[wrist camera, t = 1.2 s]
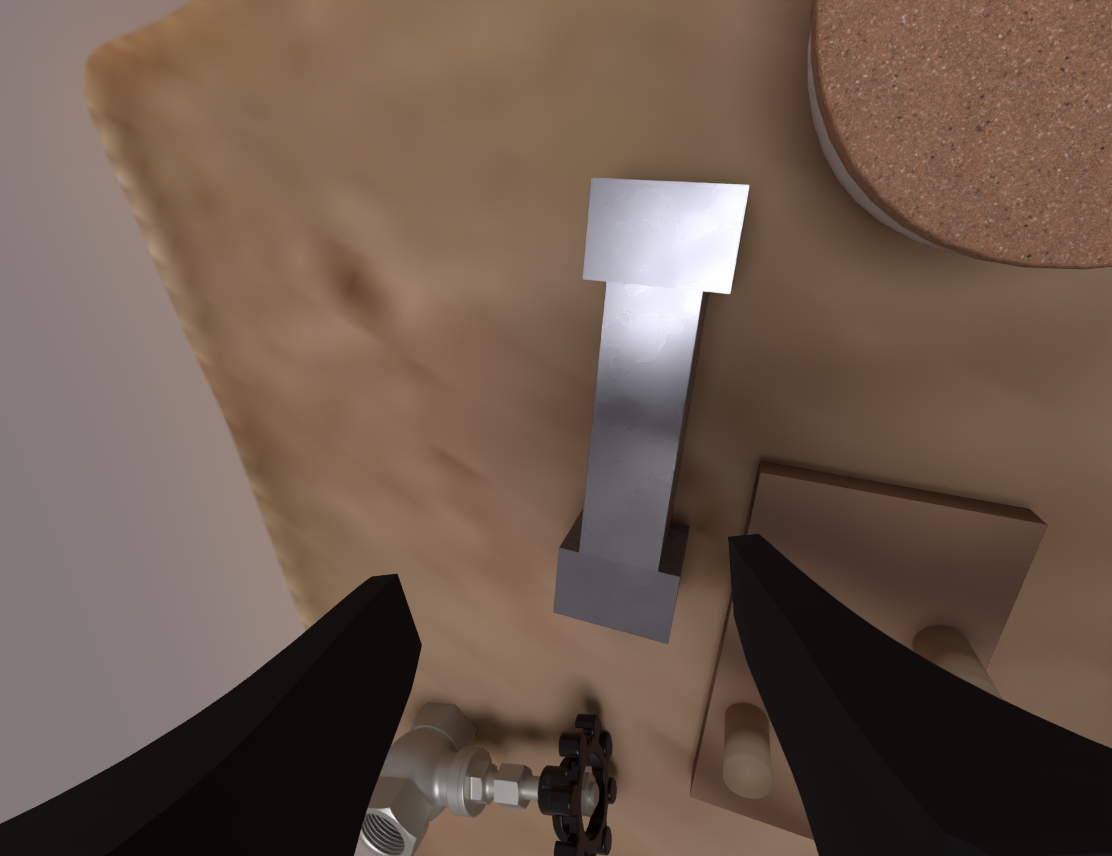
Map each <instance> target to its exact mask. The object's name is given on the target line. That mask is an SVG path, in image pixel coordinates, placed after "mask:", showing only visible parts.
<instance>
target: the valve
mask: <svg viewBox="0 0 1112 856" xmlns="http://www.w3.org/2000/svg"><path fill="white" fill-rule="evenodd" d="M575 727H576V728H583V732H584V734H583V733H576V732H563V733H562V734H561V737H560V740H559V754H560V756H563V757H565V758H564V759H563V760H562V762H561V764H560V766H550V765H547V766H546V767H545V768H544V769H543V771H542V773H541V776H533V774H532V770H531V769H530V768H529V767H527V766H525V765H518V764H508V763H502V764H501V766H500V768H499V770H498V769H497V766H496V765H495V764H493V763H492V760H491V757H490V754H489V752H488V751H487V750H486V749H484V748H479V747H472V745H473V741H474V738H475V735H476V732H477V729H476V728H475V726H474V725H473V724H472V723H471V722H470V721H469V719H468V718H467V717H466V716H465V715H464V714H463V713H462V712H461V711H460V709H459V708H458V707H457V706H455V705H453V704H437V703H427V704H426V705H425V707H424V708H423V710H422V711H421V712H420V714H419V715H418V717H417V718H416V720H415V721H414V722H413V724H412V728H411V731H410V732H408V733H406V734H405V735H403V736H402V737H400V738H399V739H398V740H397V741H396V742H395V743H394V744H393V745H392V746H391V747H390V749H389V752H388V754H387V757H386V760H385V762H384V765H383V768H382V770H381V773H380V776H379V778H378V781H377V784H376V786H375V789H374V791H373V794H372V797H371V800H370V803H369V806H368V809H367V812H366V815H365V818H364V821H363V824H362V828H361V832H360V835H359V840H360V841H361V843H362V844H363V845H364V846H365V847H366V848H367V849H368V850H369V851H371V852H372V853H373V854H375V855H376V856H414V854H415V852H416V850H417V849H418V847H419V845H420V843H421V841H422V839H423V838H424V836H425V834H426V832H427V829H428V825H429V822H430V821H432V820H433V819H435V818H436V817H437V816H438V815H439V814H440V813H441V812H442V811H443V810H444V809H445V808H446V807H447V806H448V807H449V809H450V811H451V812H452V813H453V814H454V815H458V816H465V817H472V818H473V817H477V816H478V815H479V814H480V813H481V812H482V811H483V809H484V808H485V806H486V804H488V805H490V803H491V802H492V800H493V798H494V802H495V803H497V804H499V805H501V806H504V807H511V808H519V809H526V808H527V806H528V804H529V802H530V800H534V801H538V805H539V809H540V811H541V813H542V814H544V815H551V816H552V820H553V827H554V830H555V833H556V835H557V836H558V838H559V840H560V841H556V843H555V847H554V856H596V854H600V855H608V854H609V853H610V850H611V843H612V835H611V830H610V827H609V826H607V821H606V819H607V809H608V804H613V803H614V802H615V800H616V794H617V786H616V781H615V779H614V778H613V777H608V772H607V760H608V759H609V758H610V757H611V753H612V740H611V736H610V735H609V734H606V733H600V730H601V725H600V719H599V717H598V715H593V714H578V715H577V717H576V721H575ZM586 766H592V772H593V775H592V774H591V773H589V772H584V771H585V767H586ZM582 816H589V817H590V821H589V825H588V828H587V830H586V832H585V831H584V828H583V822H582Z"/></svg>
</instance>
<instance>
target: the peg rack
mask: <svg viewBox="0 0 1112 856" xmlns="http://www.w3.org/2000/svg"><path fill="white" fill-rule="evenodd" d="M1046 528H1047V524H1046V523H1045V522H1044V521H1043V520H1041V519H1040V518H1039V517H1038V516H1037V515H1036V514H1035V513H1034V512H1032V511H1031V510H1030V509H1025V508H1020V507H1014V506H1008V505H1003V504H997V503H991V502H986V501H980V500H975V499H969V498H963V497H958V496H952V495H947V494H941V493H935V492H930V491H924V490H918V489H913V488H907V487H902V486H896V485H890V484H885V483H879V482H874V481H868V480H862V479H857V478H851V477H845V476H840V475H834V474H829V473H823V472H817V471H812V470H806V469H801V468H795V467H789V466H784V465H778V464H772V463H767V462H761V461H760V463H759V467H758V472H757V477H756V481H755V486H754V490H753V495H752V500H751V504H750V509H749V514H748V518H747V523H746V527H745V532H744V535H751V534H760V535H761V536H762V537H764V538H765V539H766V540H767V541H768V542H769V543H771V544H772V545H773V546H774V547H775V548H776V549H777V550H778V551H779V552H781V553H782V554H783V555H784V556H785V557H786V558H787V559H788V560H790V561H791V562H792V563H793V564H794V565H795V566H797V567H798V568H799V569H800V570H801V571H802V572H804V573H805V574H806V575H807V576H808V577H810V578H811V579H812V580H813V581H814V582H816V583H817V584H818V585H819V586H821V587H822V588H823V589H824V590H826V591H827V592H828V593H830V594H831V595H832V596H833V597H835V598H836V599H837V600H838V601H840V602H841V603H842V604H844V605H845V606H846V607H848V608H849V609H850V610H852V611H853V612H854V613H856V614H857V615H859V616H860V617H862V618H863V619H864V620H866V621H867V622H869V623H870V624H871V625H873V626H874V627H876V628H877V629H879V630H880V631H882V632H883V633H885V634H886V635H888V636H889V637H891V638H893V639H894V640H896V641H898V642H899V643H901V644H902V645H904V646H906V647H907V648H909V649H911V650H912V651H914V652H916V653H917V654H919V655H921V656H922V657H924V658H925V659H927V660H929V661H931V662H932V663H934V664H936V665H938V666H939V667H941V668H943V669H945V670H947V671H948V672H950V673H952V674H954V675H956V676H958V677H960V678H961V679H963V680H965V681H967V682H969V683H971V684H973V685H975V686H977V687H979V688H981V689H983V690H984V691H986V692H988V693H990V694H992V695H994V696H996V697H998V698H1000V699H1002V698H1001V696H1000V694H999V693H998V691H997V689H996V687H995V686H994V684H993V682H992V681H991V679H990V677H989V675H988V674H987V672H986V668H987V666H988V664H989V661H990V659H991V656H992V654H993V652H994V649H995V647H996V645H997V642H998V640H999V638H1000V635H1001V633H1002V631H1003V628H1004V626H1005V624H1006V621H1007V619H1008V617H1009V614H1010V612H1011V610H1012V607H1013V605H1014V603H1015V600H1016V598H1017V596H1018V593H1019V591H1020V589H1021V586H1022V584H1023V582H1024V579H1025V577H1026V575H1027V572H1028V570H1029V567H1030V565H1031V563H1032V560H1033V558H1034V556H1035V553H1036V551H1037V549H1038V546H1039V544H1040V542H1041V539H1042V537H1043V535H1044V532H1045V530H1046ZM1002 700H1003V699H1002ZM690 797H692V798H695V799H698V800H701V801H704V802H707V803H710V804H712V805H715V806H718V807H721V808H724V809H727V810H730V811H732V812H735V813H738V814H741V815H744V816H747V817H750V818H752V819H755V820H758V821H761V822H764V823H767V824H770V825H772V826H775V827H778V828H781V829H784V830H787V831H790V832H792V833H795V834H798V835H801V836H804V837H807V838H810V839H812V840H814V838H813V835H812V831H811V828H810V825H809V822H808V819H807V815H806V812H805V809H804V806H803V803H802V799H801V796H800V794H799V791H798V788H797V785H796V783H795V780H794V777H793V775H792V772H791V769H790V767H789V764H788V762H787V760H786V757H785V755H784V752H783V750H782V747H781V745H780V743H779V740H778V738H777V735H776V733H775V730H774V728H773V726H772V723H771V721H770V718H769V716H768V713H767V711H766V709H765V706H764V704H763V701H762V699H761V696H760V694H759V691H758V689H757V686H756V684H755V682H754V679H753V677H752V674H751V672H750V669H749V667H748V664H747V661H746V658H745V655H744V651H743V648H742V644H741V641H740V637H739V633H738V630H737V626H736V623H735V619H734V613H733V599H732V592H731V597H730V601H729V606H728V610H727V615H726V620H725V624H724V629H723V633H722V638H721V643H720V647H719V652H718V657H717V661H716V666H715V670H714V675H713V680H712V684H711V689H710V693H709V698H708V703H707V707H706V712H705V716H704V721H703V726H702V730H701V735H700V740H699V744H698V749H697V753H696V758H695V763H694V767H693V772H692V779H691V789H690Z"/></svg>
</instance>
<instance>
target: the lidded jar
mask: <svg viewBox="0 0 1112 856" xmlns="http://www.w3.org/2000/svg"><path fill="white" fill-rule="evenodd" d="M808 91H809V98H810V105H811V111H812V118H813V124H814V128H815V131H816V134H817V137H818V140H819V143H820V146H821V149H822V151H823V154H824V156H825V158H826V160H827V162H828V163H829V165H830V167H831V169H832V171H833V173H834V174H835V176H836V178H837V180H838V181H839V182H840V184H841V185H842V186H843V187H844V188H845V190H846V191H847V192H848V193H849V194H850V196H851V197H852V198H853V199H854V200H855V202H856V203H857V204H858V205H860V206H861V207H862V208H863V209H864V210H866V211H867V212H868V213H869V214H871V215H872V216H873V217H874V218H875V219H877V220H878V221H879V222H881V223H882V224H884V225H886V226H888V227H890V228H891V229H893V230H895V231H897V232H899V233H900V234H902V235H904V236H906V237H908V238H910V239H912V240H914V241H916V242H919V243H922V244H925V245H928V246H931V247H934V248H936V249H939V250H942V251H945V252H950V253H955V254H961V255H966V256H969V257H972V258H975V259H980V260H985V261H991V262H997V263H1002V264H1008V265H1013V266H1019V267H1031V268H1060V269H1092V268H1103V267H1112V0H813V5H812V11H811V30H810V36H809V43H808Z"/></svg>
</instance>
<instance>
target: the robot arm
mask: <svg viewBox="0 0 1112 856" xmlns="http://www.w3.org/2000/svg"><path fill="white" fill-rule="evenodd" d="M728 541H729V556H730V570H731V585H732V599H733V613H734V619H735V623H736V626H737V630H738V633H739V637H740V641H741V644H742V648H743V651H744V655H745V658H746V661H747V664H748V667H749V669H750V672H751V674H752V677H753V679H754V682H755V684H756V686H757V689H758V691H759V694H760V696H761V699H762V701H763V704H764V706H765V709H766V711H767V713H768V716H769V718H770V721H771V723H772V726H773V728H774V730H775V733H776V735H777V738H778V740H779V743H780V745H781V747H782V750H783V752H784V755H785V757H786V760H787V762H788V764H789V767H790V769H791V772H792V775H793V777H794V780H795V783H796V785H797V788H798V791H799V794H800V796H801V799H802V803H803V806H804V809H805V812H806V815H807V819H808V822H809V825H810V828H811V831H812V835H813V838H814V841H815V844H816V847H817V851H818V854H819V856H1112V748H1109V747H1107V746H1104V745H1102V744H1099V743H1097V742H1094V741H1092V740H1090V739H1087V738H1085V737H1083V736H1080V735H1078V734H1076V733H1074V732H1071V731H1069V730H1067V729H1065V728H1062V727H1060V726H1058V725H1056V724H1054V723H1051V722H1049V721H1047V720H1045V719H1042V718H1040V717H1038V716H1036V715H1033V714H1031V713H1029V712H1027V711H1025V710H1023V709H1021V708H1019V707H1017V706H1015V705H1012V704H1010V703H1008V702H1006V701H1004V700H1002V699H1000V698H998V697H996V696H994V695H992V694H990V693H988V692H986V691H984V690H983V689H981V688H979V687H977V686H975V685H973V684H971V683H969V682H967V681H965V680H963V679H961V678H960V677H958V676H956V675H954V674H952V673H950V672H948V671H947V670H945V669H943V668H941V667H939V666H938V665H936V664H934V663H932V662H931V661H929V660H927V659H925V658H924V657H922V656H921V655H919V654H917V653H916V652H914V651H912V650H911V649H909V648H907V647H906V646H904V645H902V644H901V643H899V642H898V641H896V640H894V639H893V638H891V637H889V636H888V635H886V634H885V633H883V632H882V631H880V630H879V629H877V628H876V627H874V626H873V625H871V624H870V623H869V622H867V621H866V620H864V619H863V618H862V617H860V616H859V615H857V614H856V613H854V612H853V611H852V610H850V609H849V608H848V607H846V606H845V605H844V604H842V603H841V602H840V601H838V600H837V599H836V598H835V597H833V596H832V595H831V594H830V593H828V592H827V591H826V590H824V589H823V588H822V587H821V586H819V585H818V584H817V583H816V582H814V581H813V580H812V579H811V578H810V577H808V576H807V575H806V574H805V573H804V572H802V571H801V570H800V569H799V568H798V567H797V566H795V565H794V564H793V563H792V562H791V561H790V560H788V559H787V558H786V557H785V556H784V555H783V554H782V553H781V552H779V551H778V550H777V549H776V548H775V547H774V546H773V545H772V544H771V543H769V542H768V541H767V540H766V539H765V538H764V537H762V536H761V535H760V534H751V535H742V536H732V537H728ZM421 646H422V644H421V641H420V638H419V635H418V632H417V630H416V627H415V624H414V621H413V618H412V615H411V612H410V609H409V606H408V603H407V600H406V597H405V594H404V592H403V589H402V586H401V583H400V580H399V577H398V574H390V575H381V576H372V577H370V578H369V579H368V580H366V581H365V582H364V583H362V584H361V585H360V586H358V587H357V588H356V589H355V590H354V591H352V592H351V593H350V594H349V595H348V596H346V597H345V598H344V599H343V600H342V601H341V602H339V603H338V604H337V605H336V606H335V607H334V608H332V609H331V610H330V611H329V612H328V613H327V614H325V615H324V616H323V617H322V618H321V619H319V620H318V621H317V622H316V623H315V624H314V625H312V626H311V627H310V628H309V629H308V630H307V631H305V632H304V633H303V634H302V635H301V636H300V637H298V638H297V639H296V640H295V641H294V642H292V643H291V644H290V645H289V646H287V647H286V648H285V649H284V650H282V651H281V652H280V653H279V654H277V655H276V656H275V657H274V658H272V659H271V660H270V661H269V662H267V663H266V664H265V665H264V666H262V667H261V668H260V669H259V670H257V671H256V672H255V673H253V674H252V675H251V676H250V677H249V678H247V679H246V680H244V681H243V682H242V683H240V684H239V685H238V686H236V687H235V688H234V689H232V690H231V691H229V692H228V693H227V694H225V695H224V696H222V697H221V698H219V699H218V700H217V701H215V702H214V703H212V704H211V705H209V706H208V707H206V708H205V709H204V710H202V711H201V712H199V713H198V714H196V715H195V716H193V717H192V718H190V719H189V720H187V721H186V722H184V723H182V724H181V725H179V726H178V727H176V728H174V729H173V730H171V731H170V732H168V733H166V734H165V735H163V736H161V737H160V738H158V739H157V740H155V741H153V742H152V743H150V744H149V745H147V746H145V747H144V748H142V749H140V750H139V751H137V752H136V753H134V754H132V755H131V756H129V757H127V758H125V759H124V760H122V761H120V762H119V763H117V764H115V765H113V766H111V767H110V768H108V769H106V770H104V771H102V772H101V773H99V774H97V775H95V776H94V777H92V778H90V779H88V780H86V781H84V782H82V783H81V784H79V785H77V786H75V787H73V788H71V789H69V790H67V791H65V792H64V793H62V794H60V795H58V796H56V797H54V798H52V799H50V800H48V801H46V802H44V803H42V804H40V805H38V806H36V807H34V808H32V809H30V810H28V811H26V812H24V813H22V814H20V815H18V816H16V817H14V818H12V819H9V820H8V821H5V822H3V823H1V824H0V856H354V853H355V850H356V846H357V843H358V839H359V835H360V832H361V828H362V824H363V821H364V818H365V815H366V812H367V809H368V806H369V803H370V800H371V797H372V794H373V791H374V789H375V786H376V784H377V781H378V778H379V776H380V773H381V770H382V768H383V765H384V762H385V760H386V757H387V754H388V752H389V749H390V747H391V744H392V741H393V739H394V736H395V733H396V731H397V728H398V725H399V723H400V720H401V717H402V715H403V712H404V709H405V706H406V704H407V701H408V698H409V695H410V692H411V690H412V686H413V682H414V678H415V674H416V670H417V665H418V660H419V656H420V651H421Z"/></svg>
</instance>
